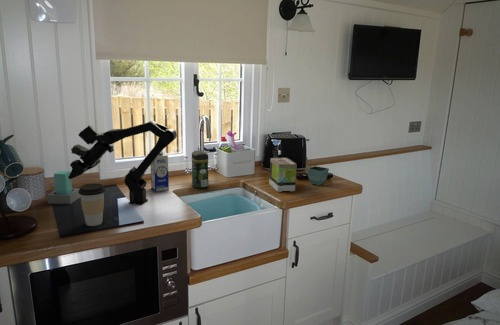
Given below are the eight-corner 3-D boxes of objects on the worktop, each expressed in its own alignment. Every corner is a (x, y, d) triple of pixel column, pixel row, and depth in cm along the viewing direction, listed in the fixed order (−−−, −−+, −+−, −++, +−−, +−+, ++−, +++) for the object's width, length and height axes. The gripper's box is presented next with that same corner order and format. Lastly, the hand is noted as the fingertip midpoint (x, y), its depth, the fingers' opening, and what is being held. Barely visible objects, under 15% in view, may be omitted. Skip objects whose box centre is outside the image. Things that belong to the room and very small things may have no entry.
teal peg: (72, 198, 172) (70, 171, 169) (67, 202, 167) (64, 174, 164) (62, 198, 172) (59, 170, 169) (56, 201, 167) (53, 173, 164)
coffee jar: (190, 183, 199) (189, 149, 195) (204, 182, 202) (204, 148, 198) (195, 189, 191) (195, 153, 186) (210, 187, 194) (210, 152, 190)
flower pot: (313, 181, 211) (314, 165, 209) (328, 184, 206) (329, 168, 204) (306, 184, 204) (307, 168, 202) (321, 187, 199) (322, 171, 197)
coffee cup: (86, 218, 150) (83, 182, 146) (110, 218, 151) (108, 182, 147) (77, 228, 141) (74, 190, 137) (103, 228, 142) (100, 190, 138)
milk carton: (164, 186, 193) (163, 148, 188) (169, 190, 188) (168, 151, 183) (151, 188, 190) (149, 150, 185) (155, 192, 184) (154, 152, 179)
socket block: (80, 196, 175) (80, 188, 174) (70, 204, 165) (69, 195, 164) (59, 196, 175) (58, 187, 174) (47, 203, 165) (47, 194, 164)
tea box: (295, 191, 192) (297, 163, 188) (277, 192, 189) (278, 164, 186) (286, 183, 206) (287, 156, 202) (268, 183, 203) (269, 157, 200)
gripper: (91, 135, 172) (70, 158, 175) (72, 142, 154) (48, 168, 157) (110, 152, 174) (88, 174, 177) (93, 161, 156) (69, 186, 158)
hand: (74, 175), depth 167 cm, fingers open, 9 cm apart
